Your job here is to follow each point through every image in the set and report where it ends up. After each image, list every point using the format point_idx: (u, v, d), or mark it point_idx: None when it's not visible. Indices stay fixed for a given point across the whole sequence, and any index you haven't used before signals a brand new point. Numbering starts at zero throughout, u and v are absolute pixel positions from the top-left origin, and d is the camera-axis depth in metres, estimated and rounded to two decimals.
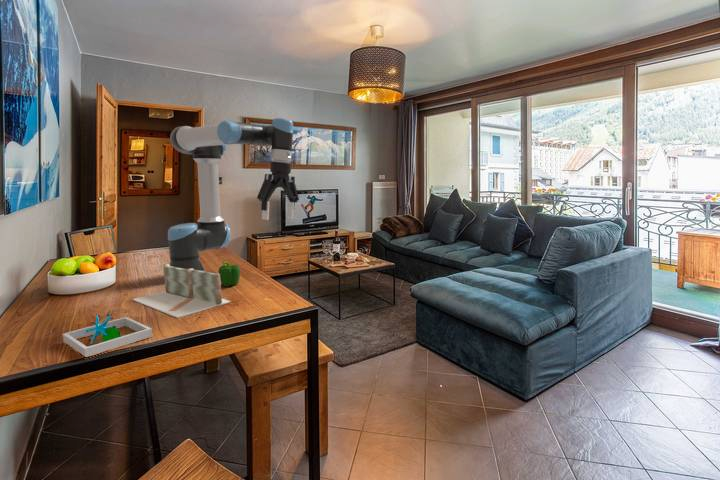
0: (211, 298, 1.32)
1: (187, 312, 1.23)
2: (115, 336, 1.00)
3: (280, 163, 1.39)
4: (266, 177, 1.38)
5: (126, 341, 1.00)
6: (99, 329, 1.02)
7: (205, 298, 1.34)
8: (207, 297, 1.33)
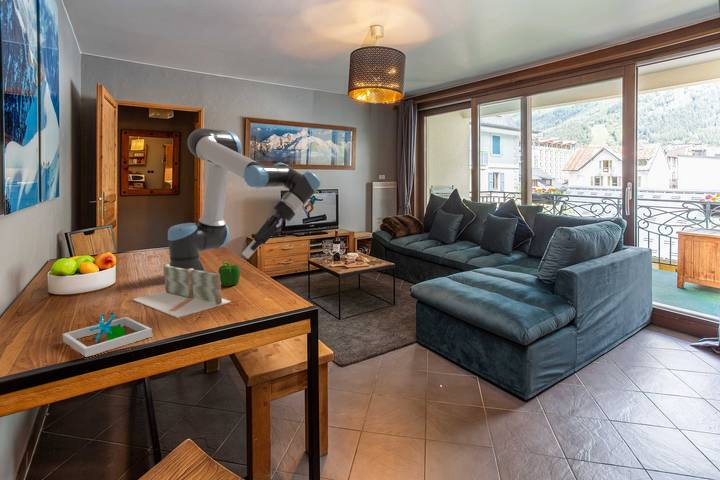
0: (211, 298, 1.32)
1: (187, 312, 1.23)
2: (121, 334, 1.01)
3: (293, 212, 1.40)
4: (277, 225, 1.35)
5: (126, 341, 1.00)
6: (104, 328, 1.02)
7: (205, 298, 1.34)
8: (207, 297, 1.33)
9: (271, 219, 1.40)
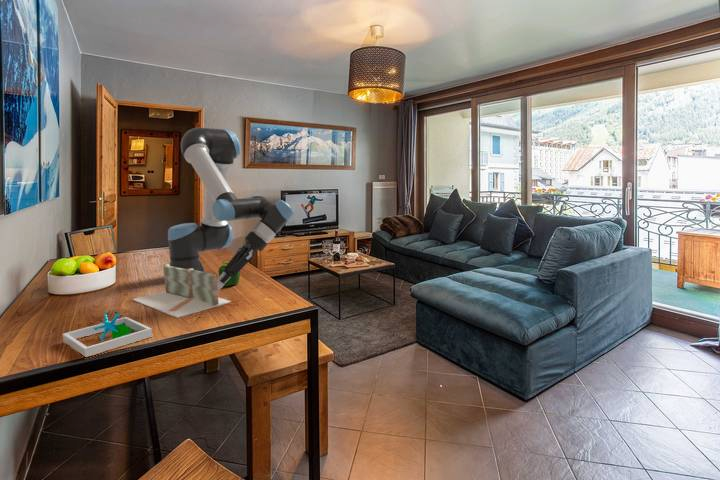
0: (208, 299, 1.31)
1: (187, 312, 1.23)
2: (126, 332, 1.02)
3: (265, 243, 1.37)
4: (247, 257, 1.31)
5: (126, 341, 1.00)
6: (109, 326, 1.03)
7: (203, 299, 1.33)
8: (205, 298, 1.32)
9: None
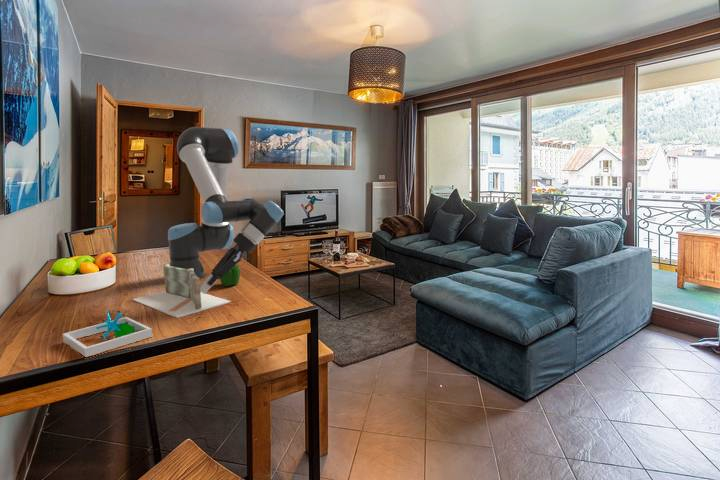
0: (194, 302, 1.29)
1: (187, 312, 1.23)
2: (129, 331, 1.03)
3: (254, 245, 1.34)
4: (234, 260, 1.29)
5: (126, 341, 1.00)
6: (112, 325, 1.04)
7: (193, 300, 1.31)
8: (193, 300, 1.30)
9: None
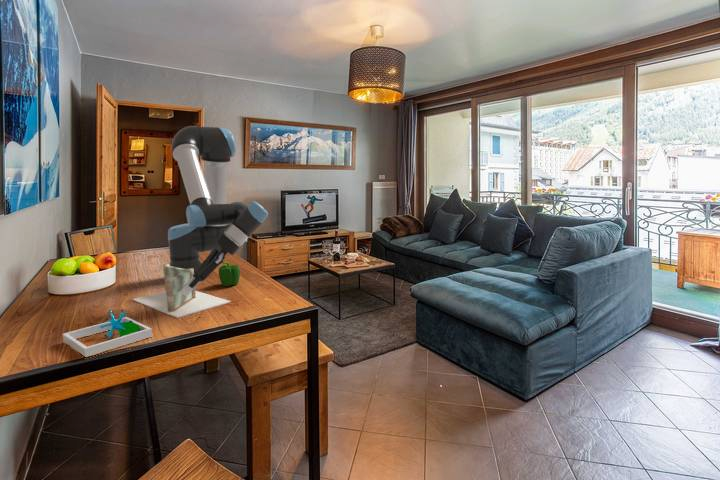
0: None
1: (187, 312, 1.23)
2: (134, 330, 1.04)
3: (237, 246, 1.31)
4: (216, 262, 1.26)
5: (126, 341, 1.00)
6: (116, 324, 1.05)
7: None
8: None
9: (213, 253, 1.31)
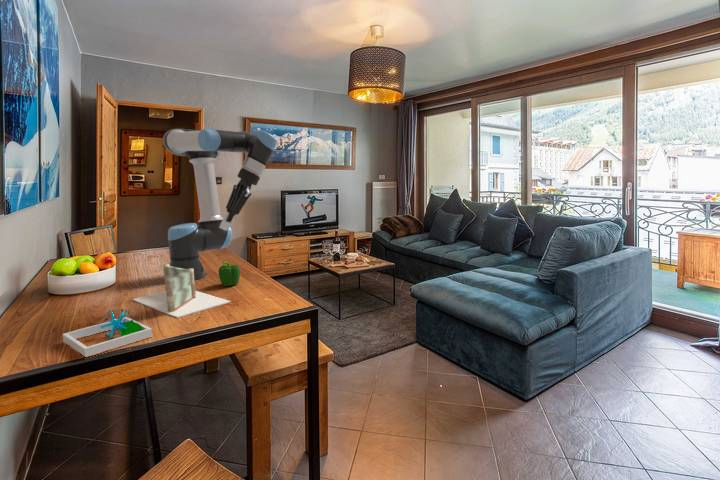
0: None
1: (187, 312, 1.23)
2: (136, 329, 1.05)
3: (258, 177, 1.41)
4: (246, 195, 1.38)
5: (126, 341, 1.00)
6: (117, 324, 1.05)
7: None
8: None
9: (238, 187, 1.42)
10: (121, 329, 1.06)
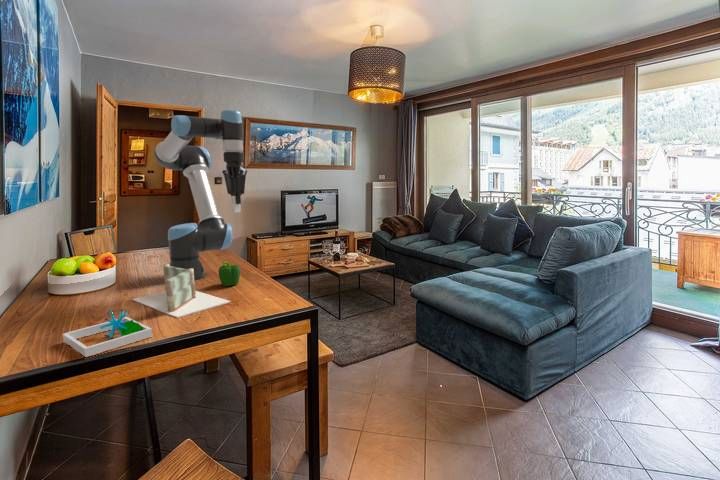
0: None
1: (187, 312, 1.23)
2: (136, 329, 1.05)
3: (242, 153, 1.51)
4: (243, 173, 1.48)
5: (126, 341, 1.00)
6: (117, 324, 1.05)
7: None
8: None
9: (230, 171, 1.51)
10: (121, 329, 1.05)
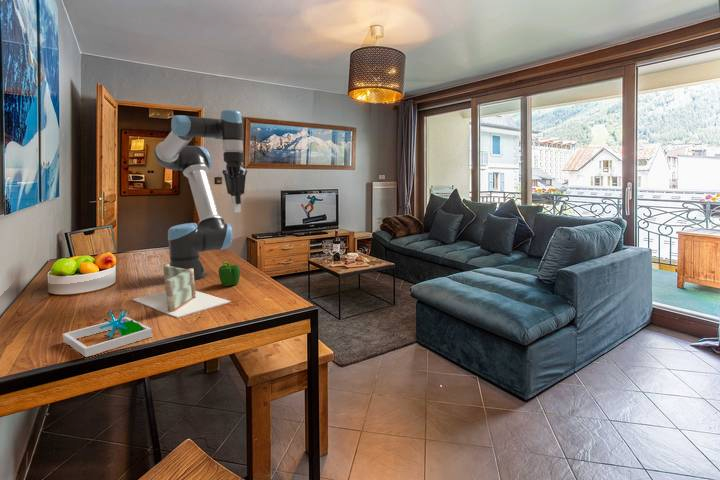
0: None
1: (187, 312, 1.23)
2: (136, 329, 1.05)
3: (242, 153, 1.51)
4: (243, 173, 1.48)
5: (126, 341, 1.00)
6: (117, 324, 1.05)
7: None
8: None
9: (230, 171, 1.51)
10: (121, 329, 1.05)
